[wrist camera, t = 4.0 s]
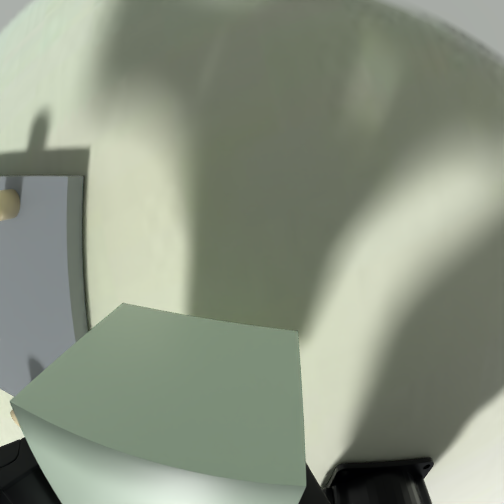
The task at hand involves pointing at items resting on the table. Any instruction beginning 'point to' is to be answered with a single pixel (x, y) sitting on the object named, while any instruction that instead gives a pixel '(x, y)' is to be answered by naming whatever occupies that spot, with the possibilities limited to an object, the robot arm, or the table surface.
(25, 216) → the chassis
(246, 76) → the table surface
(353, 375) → the table surface
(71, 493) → the board block
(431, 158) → the table surface
